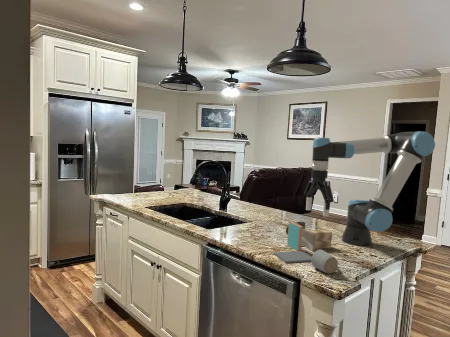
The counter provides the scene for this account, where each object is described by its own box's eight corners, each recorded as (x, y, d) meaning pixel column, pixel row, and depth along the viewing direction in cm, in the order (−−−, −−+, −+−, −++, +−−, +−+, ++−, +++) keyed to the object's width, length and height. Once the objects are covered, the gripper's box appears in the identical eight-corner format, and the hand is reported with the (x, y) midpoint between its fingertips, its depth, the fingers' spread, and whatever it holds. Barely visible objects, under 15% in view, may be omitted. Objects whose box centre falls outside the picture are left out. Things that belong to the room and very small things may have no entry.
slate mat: (302, 252, 152) (302, 251, 152) (315, 261, 141) (316, 259, 141) (273, 254, 147) (273, 252, 147) (285, 263, 136) (285, 261, 136)
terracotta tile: (289, 244, 163) (291, 221, 162) (300, 251, 153) (303, 226, 152) (287, 245, 162) (289, 221, 161) (297, 251, 153) (299, 226, 152)
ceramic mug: (324, 276, 125) (326, 256, 125) (310, 268, 133) (311, 249, 132) (344, 273, 130) (346, 254, 130) (328, 265, 138) (330, 247, 137)
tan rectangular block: (322, 243, 169) (323, 228, 168) (334, 249, 160) (336, 233, 159) (300, 244, 165) (302, 229, 164) (312, 251, 155) (313, 234, 155)
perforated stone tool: (288, 237, 177) (289, 224, 176) (281, 234, 181) (282, 222, 180) (307, 234, 185) (308, 222, 184) (300, 232, 189) (301, 220, 189)
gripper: (298, 167, 167) (296, 208, 168) (330, 172, 143) (326, 219, 145) (310, 167, 169) (308, 207, 171) (343, 172, 146) (340, 218, 148)
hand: (316, 213), depth 158 cm, fingers open, 13 cm apart
